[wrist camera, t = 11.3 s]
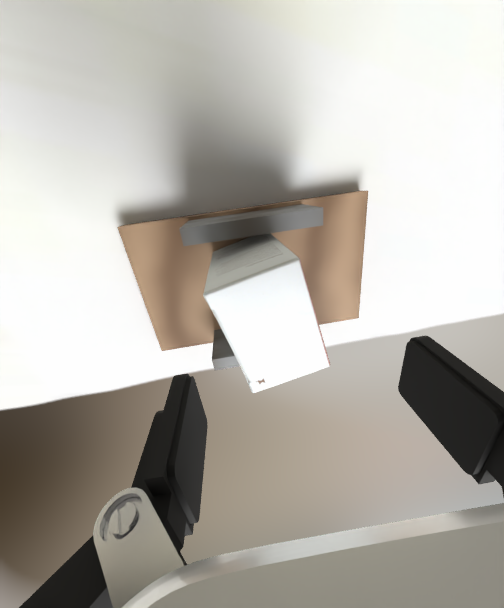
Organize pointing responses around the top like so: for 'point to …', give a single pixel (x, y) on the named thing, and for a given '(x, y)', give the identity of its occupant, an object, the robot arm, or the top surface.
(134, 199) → the top surface
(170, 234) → the holder stand
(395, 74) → the top surface
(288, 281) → the small box
